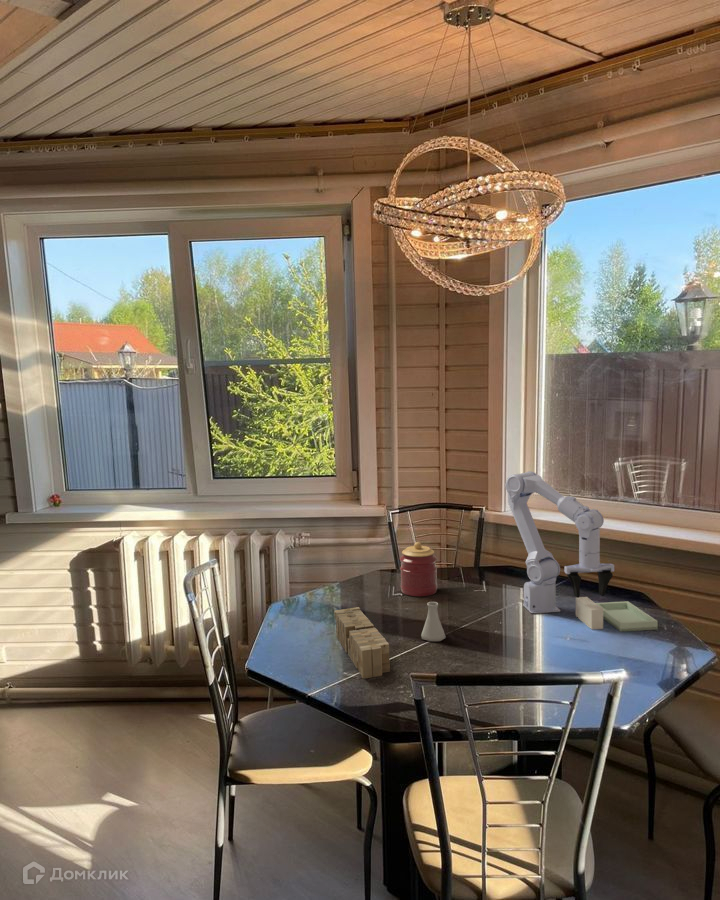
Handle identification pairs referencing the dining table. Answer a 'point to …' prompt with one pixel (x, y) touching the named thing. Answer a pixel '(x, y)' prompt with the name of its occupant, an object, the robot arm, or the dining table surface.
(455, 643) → the dining table surface
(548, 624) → the dining table surface
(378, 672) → the block tower
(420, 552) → the canister
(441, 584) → the dining table surface
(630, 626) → the tray
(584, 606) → the beige rectangular block
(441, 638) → the flask
